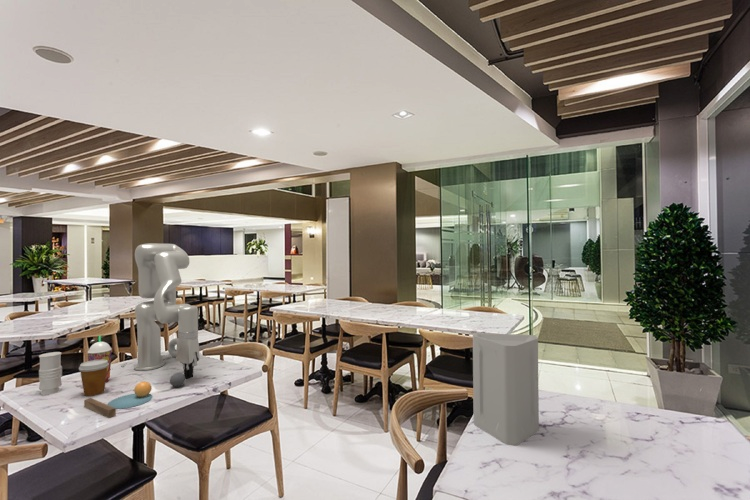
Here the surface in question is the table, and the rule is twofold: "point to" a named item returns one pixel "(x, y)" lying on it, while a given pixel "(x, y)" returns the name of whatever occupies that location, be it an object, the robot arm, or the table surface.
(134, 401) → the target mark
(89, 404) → the wall
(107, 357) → the smoothie
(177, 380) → the grey ball
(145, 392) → the object ball
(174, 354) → the donut
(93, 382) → the disposable coffee cup
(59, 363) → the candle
